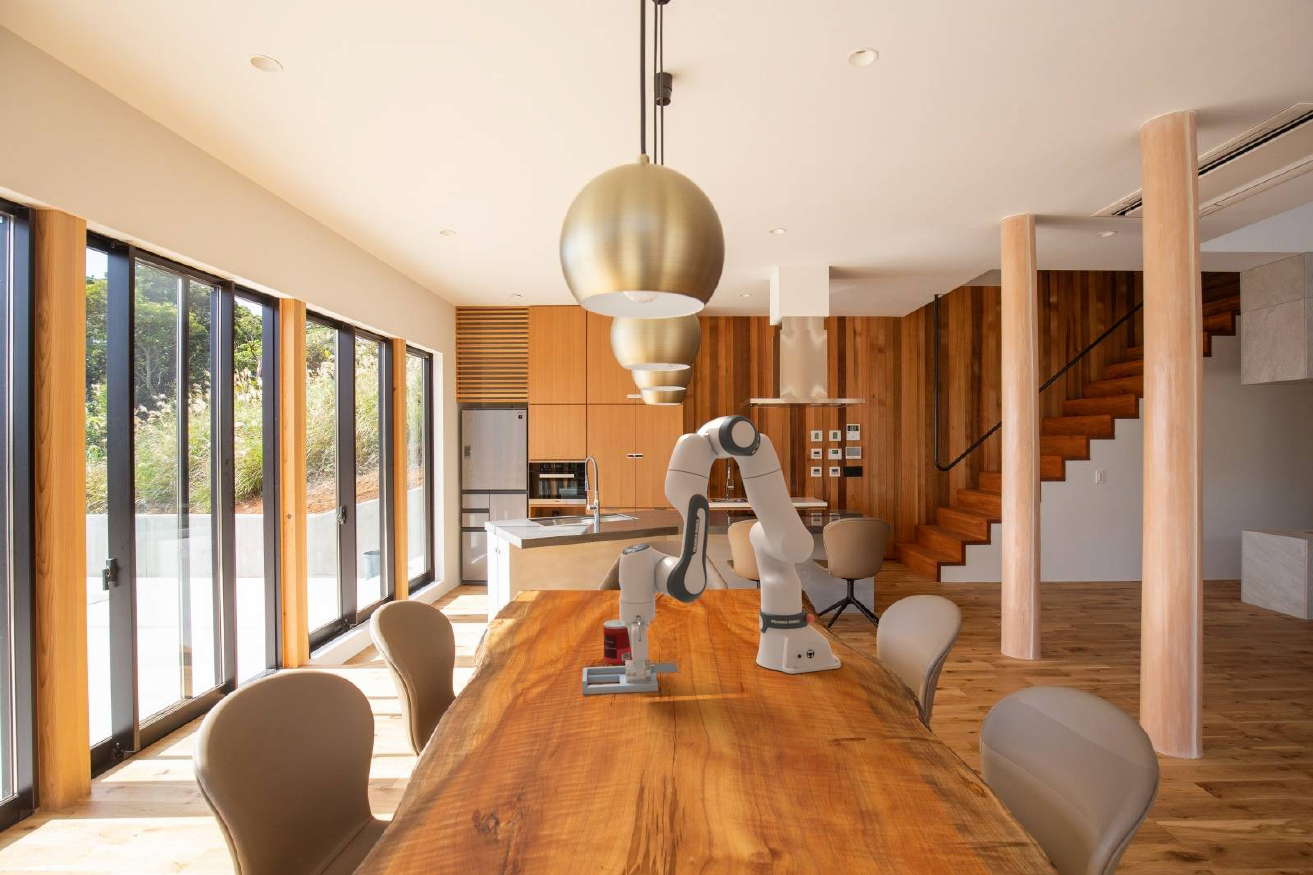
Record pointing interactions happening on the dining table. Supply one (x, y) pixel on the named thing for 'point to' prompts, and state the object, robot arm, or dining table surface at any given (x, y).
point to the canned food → (616, 642)
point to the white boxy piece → (631, 674)
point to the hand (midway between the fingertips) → (638, 668)
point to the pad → (665, 667)
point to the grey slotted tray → (615, 676)
